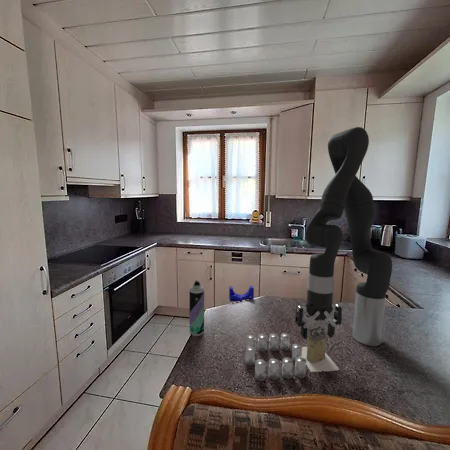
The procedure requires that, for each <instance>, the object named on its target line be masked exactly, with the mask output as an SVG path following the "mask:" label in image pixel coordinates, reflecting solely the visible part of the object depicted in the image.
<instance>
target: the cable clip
mask: <svg viewBox="0 0 450 450" xmlns="http://www.w3.org/2000/svg"><path fill="white" fill-rule="evenodd" d="M254 289H255V287H254V286H253V285H250V286H249V288H248V290H247V292H245V293H242V294H239V293H236V292H235V291H234V287H233V286H230V285H229V287H228V299H229V302H243V301H250V299H253V301H254V298H255V296H254V293H255V290H254Z"/></svg>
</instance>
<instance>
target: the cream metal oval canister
mask: <svg viewBox="0 0 450 450" xmlns="http://www.w3.org/2000/svg"><path fill="white" fill-rule="evenodd" d="M306 344H307V346H306V347H307V356H306V358H307V360H309V361H310V362H317V361H321V360H322V359H323V358H325V353H326V347H327V346H326V345H327V332H326V331H325V327H321V325H319V326H318V325H314V326H313V328H309V333H308V334H307V343H306Z"/></svg>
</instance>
